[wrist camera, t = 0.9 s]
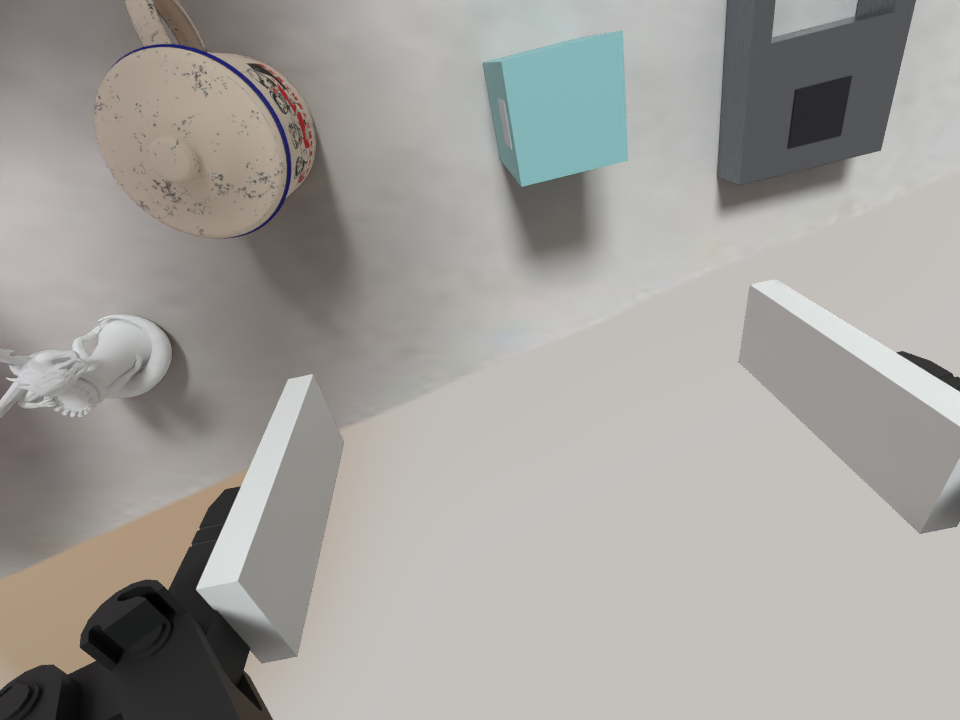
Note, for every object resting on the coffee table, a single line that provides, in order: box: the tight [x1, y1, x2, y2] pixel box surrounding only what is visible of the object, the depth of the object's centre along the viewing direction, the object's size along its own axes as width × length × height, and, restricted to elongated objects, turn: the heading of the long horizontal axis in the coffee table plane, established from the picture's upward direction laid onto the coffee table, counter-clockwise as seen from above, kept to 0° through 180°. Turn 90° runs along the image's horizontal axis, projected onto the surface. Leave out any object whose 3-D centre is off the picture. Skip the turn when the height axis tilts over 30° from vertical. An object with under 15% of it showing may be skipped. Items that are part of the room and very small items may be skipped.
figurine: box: [0, 315, 172, 418], centre depth 33 cm, size 11×8×12 cm
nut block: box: [483, 30, 628, 187], centre depth 28 cm, size 6×6×9 cm
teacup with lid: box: [94, 0, 316, 238], centre depth 25 cm, size 12×9×12 cm
